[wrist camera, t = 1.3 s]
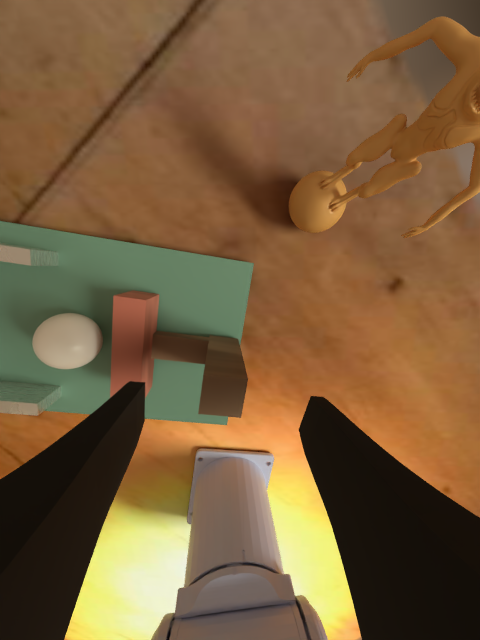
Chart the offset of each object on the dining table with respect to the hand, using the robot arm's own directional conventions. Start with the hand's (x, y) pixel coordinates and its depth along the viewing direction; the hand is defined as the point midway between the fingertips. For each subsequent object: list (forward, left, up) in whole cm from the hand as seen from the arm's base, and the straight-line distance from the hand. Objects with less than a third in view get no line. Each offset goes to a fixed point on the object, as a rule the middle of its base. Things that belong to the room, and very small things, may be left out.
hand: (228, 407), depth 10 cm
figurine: (+12, -6, -11) cm, 17 cm away
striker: (-1, +3, -9) cm, 10 cm away
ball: (-1, +11, -8) cm, 14 cm away
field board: (-1, +9, -11) cm, 14 cm away
